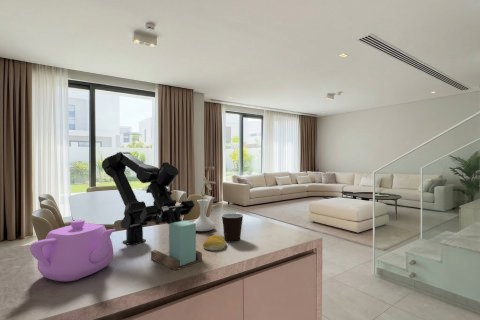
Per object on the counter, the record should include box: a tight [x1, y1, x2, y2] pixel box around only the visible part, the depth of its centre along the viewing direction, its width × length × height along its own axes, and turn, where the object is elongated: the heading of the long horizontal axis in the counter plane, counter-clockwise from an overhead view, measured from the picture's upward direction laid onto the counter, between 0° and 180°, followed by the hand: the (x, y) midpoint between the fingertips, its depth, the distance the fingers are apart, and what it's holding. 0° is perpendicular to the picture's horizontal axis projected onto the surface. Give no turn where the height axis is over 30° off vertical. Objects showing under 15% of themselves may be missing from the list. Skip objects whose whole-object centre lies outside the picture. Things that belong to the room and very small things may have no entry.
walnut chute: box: [150, 249, 203, 271], centre depth 86 cm, size 14×10×2 cm
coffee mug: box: [221, 212, 244, 243], centre depth 108 cm, size 12×9×10 cm
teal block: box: [168, 220, 197, 266], centre depth 84 cm, size 6×6×12 cm
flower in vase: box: [193, 175, 216, 232], centre depth 122 cm, size 13×11×25 cm
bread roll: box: [202, 234, 227, 251], centre depth 98 cm, size 8×9×4 cm
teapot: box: [29, 219, 116, 282], centre depth 74 cm, size 23×21×15 cm
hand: (178, 230), depth 86 cm, fingers closed, pressing on teal block
